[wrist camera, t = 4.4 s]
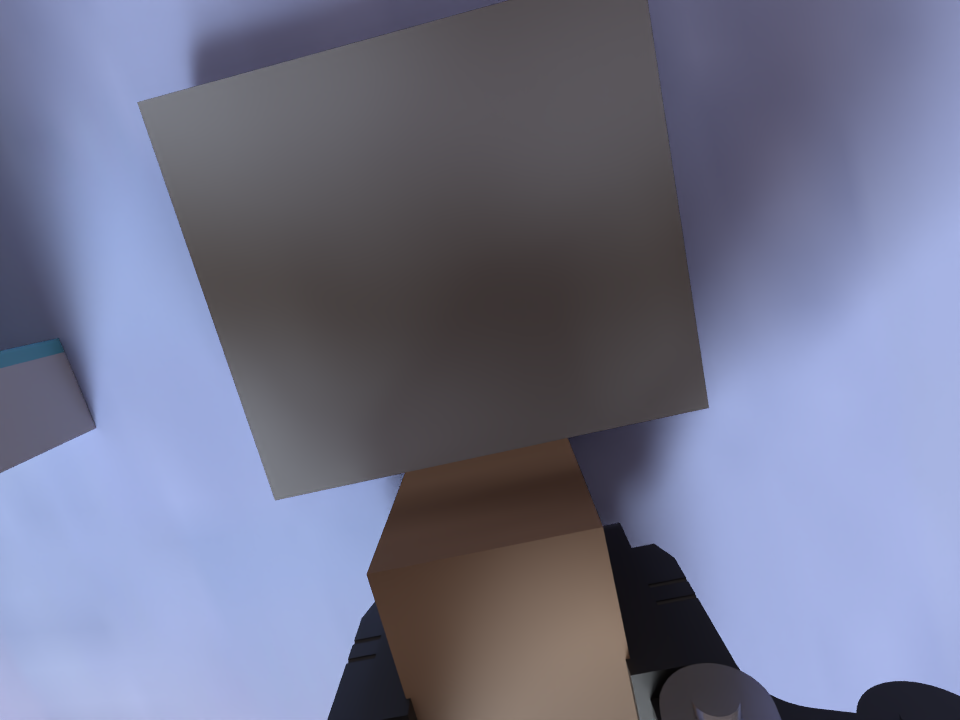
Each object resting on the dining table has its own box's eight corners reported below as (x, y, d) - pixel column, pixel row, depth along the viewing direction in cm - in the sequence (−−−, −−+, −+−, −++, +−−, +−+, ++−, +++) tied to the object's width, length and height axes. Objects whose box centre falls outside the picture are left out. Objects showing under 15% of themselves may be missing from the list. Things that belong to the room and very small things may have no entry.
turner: (175, 117, 9) (-58, 24, 5) (624, -4, 9) (734, -211, 5) (419, 849, 13) (387, 1119, 9) (751, 796, 12) (875, 1058, 8)
